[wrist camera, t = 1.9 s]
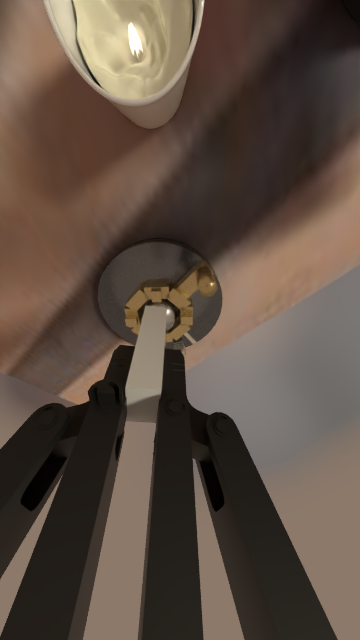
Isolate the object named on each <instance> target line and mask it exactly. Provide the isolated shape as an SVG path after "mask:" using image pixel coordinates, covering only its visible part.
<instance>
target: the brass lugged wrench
mask: <svg viewBox="0 0 360 640" xmlns="http://www.w3.org/2000/svg"><path fill="white" fill-rule="evenodd" d="M213 274H214V273H213V271H212V269H211V268H210V267H209V266H208V265H207V264H206V263H205V262H204V261H203V260H202V259H201V260H200V261H199V262H198V263H197V264H196V265H195V266H194V267H193V268H192V269H191V270H190V271H189V272H188V273H187V274H186V275H185V276H184V277H183V278H182V279H181V280H180V281H179V282H178V283H176V282H175V281H173V282H172V283H171V284H170V281H169V279H146V282H145V283H144V282H143V281H142V282H141V283H140V284H139V286H138V287H137V288H136V289H135V290H134V291H133V292H132V293H131V295H130V296H129V298H128V300H127V302H126V306H125V309H124V310H125V314H126V317H125V323H126V326H128V327H132V329H131V331H132V332H134V333H136V334H137V335H138V334H139V330H140V326H141V322H142V318H143V315H142V310H141V306H142V305H143V304H144V303H145V302H146V301H147V300H148V299H152V302H162V299H168V300H169V301H170V302H172V303H173V304H174V305H175V306H177V307H178V308H179V309H180V312H181V314H180V315H179V316H178V317H177V318H176V319H175V321H174V325H173V326H172V327H171V328H170V329H169V330H167V331H166V332H165V346H166V342H173V339H175V340H178V339H179V338H180V337H181V336H183V335H184V334H185V333H186V332H187V331H189V330H190V329H191V325H193V304H192V298H190V296H191V295H192V294H193V293H194V292H195V291H196V290H197V289H198V290H199V293H200V294H201V295H202V296H204V297H210V296H213V295H214V294H215V293H216V292H217V288H218V287H217V283H216V281H215V279H214V276H213Z"/></svg>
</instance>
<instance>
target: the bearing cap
mask: <svg viewBox="0 0 360 640" xmlns="http://www.w3.org/2000/svg"><path fill="white" fill-rule="evenodd" d="M201 259H202V260H203V261H204V262H205V263H206V264H207V265H208V266H209V267H210V268H211V269H212V271H213V273H214V274H213V276H214V279H215V281H216V283H217V287H218V288H217V292H216V293H215V294H214V295H213V296H210V297H204V296H202V295H201V294H200V293H199V290H198V289H197V290H196V291H195V292H194V293H193V294H192V295H191V296H190V298H192V304H193V325H191V329H190V330H189V331H187V332H186V333H185V334H184V335H183V336H181V337H180V338H179V339H178V340H175V339H173V342H166V346H165V347H164V349H175V350H181V352H182V354H183V355H184V358H186V347H188V346H190V345H192V344H193V345H194V344H196V343H197V342H198V341H199V340H201V339H202V338H203V337H205V336H206V335H207V334H208V333H209V332H210V331H211V330H212V328H213V327H214V325H215V324H216V322H217V320H218V318H219V315H220V312H221V308H222V291H221V287H220V284H219V281H218V279H217V277H216V275H215V272H214V270H213V268H212V267H211V265H210V264H209V262H208V261H207V260H206V259H205V258H204V257H203V256H202V255H201V254H200V253H199V252H198V251H196V250H195V249H193V248H192V247H190V246H188V245H186V244H184V243H181V242H178V241H175V240H170V239H161V238H155V239H146V240H142V241H139V242H136V243H134V244H131V245H129V246H128V247H126V248H124V249H123V250H122V251H121V252H119V253H118V254H117V255H116V256H115V258H114V259H113V260H112V261H111V262H110V263H109V265H108V266H107V267H106V269H105V270H104V272H103V274H102V276H101V279H100V282H99V286H98V303H99V307H100V310H101V313H102V315H103V317H104V319H105V321H106V322H107V324H108V325H109V326H110V328H111V329H112V330H113V331H114V332H115V333H116V334H117V335H119V336H120V337H121V338H123V339H124V340H126V341H127V342H129V343H131V344H133V345H136V342H137V338H138V335H137V334H136V333H134V332H132V331H131V329H132V327H128V326H126V323H125V317H126V314H125V310H124V309H125V306H126V302H127V300H128V298H129V296H130V295H131V293H132V292H133V291H134V290H135V289H136V288H137V287H138V286H139V284H140V283H141V282H142V281H143V282H144V283H145V282H146V279H169V281H170V284H171V283H172V282H173V281H175V282H176V283H178V282H179V281H180V280H181V279H182V278H183V277H184V276H185V275H186V274H187V273H188V272H189V271H190V270H191V269H192V268H193V267H194V266H195V265H196V264H197V263H198V262H199V261H200V260H201ZM145 306H155V307H164V308H167V317H166V331H167V330H169V329H170V328H171V327H172V326H173V325H174V321H175V319H176V318H177V317H178V316H179V315H180V314H181V312H180V309H179V308H178V307H177V306H175V305H174V304H173V303H172V302H170V301H169V300H168V299H162V302H152V299H148V300H147V301H146V302H145V303H144V304H143V305H142V306H141V310H142V315H143V314H144V310H145Z"/></svg>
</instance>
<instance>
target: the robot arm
mask: <svg viewBox="0 0 360 640" xmlns="http://www.w3.org/2000/svg"><path fill="white" fill-rule="evenodd" d="M343 2H344V4H345V6H346V8H347V10H348V11H349V13H350V14H351V15H352V17H353V18H354V19H355V20H356V21H357V22H359V23H360V0H343ZM166 317H167V308H164V307H155V306H145V310H144V314H143V318H142V322H141V326H140V330H139V334H138V338H137V342H136V346H126V345H120V346H119V347H118V348H117V349H116V350H115V351H114V352H113V355H112V358H111V361H110V363H109V366H108V369H107V371H106V374H105V377H104V379H103V380H100V381H98V382H96V383H95V384H93V385H92V386H91V387H90V389H89V390H88V395H89V400H90V401H88V402H86V403H83V404H80V405H76V406H72V407H68V408H66V407H65V406H63V405H62V404H59V403H51V404H47V405H45V406H43V407H41V408H39V409H38V410H36V411H35V412H34V413H33V414H32V415H31V416H30V417H29V418H28V419H27V420H26V421H25V423H24V424H23V425H22V426H21V427H20V428H19V429H18V430H17V432H16V433H15V434H14V435H13V436H12V437H11V438H10V439H9V440H8V441H7V443H6V444H5V445H4V446H3V447H2V448H1V449H0V578H1V577H2V575H3V574H4V572H5V570H6V568H7V567H8V565H9V563H10V562H11V560H12V558H13V557H14V555H15V553H16V552H17V550H18V548H19V547H20V545H21V543H22V542H23V540H24V538H25V537H26V535H27V533H28V532H29V530H30V528H31V527H32V525H33V523H34V522H35V520H36V518H37V516H38V515H39V513H40V512H41V510H42V508H43V507H44V505H45V503H46V501H47V500H48V498H49V496H50V495H51V493H52V491H53V490H54V488H55V486H56V484H57V483H58V481H59V480H60V478H61V476H62V475H63V476H62V478H61V481H60V483H59V486H58V489H57V491H56V494H55V496H54V499H53V502H52V504H51V507H50V510H49V512H48V514H47V517H46V520H45V523H44V525H43V527H42V530H41V533H40V535H39V538H38V540H37V543H36V546H35V548H34V551H33V553H32V556H31V559H30V561H29V564H28V567H27V569H26V571H25V574H24V577H23V579H22V582H21V585H20V587H19V590H18V592H17V595H16V598H15V600H14V603H13V605H12V608H11V610H10V613H9V616H8V618H7V621H6V623H5V626H4V629H3V631H2V634H1V636H0V640H83V636H84V631H85V626H86V621H87V616H88V611H89V606H90V601H91V595H92V591H93V586H94V581H95V576H96V571H97V566H98V561H99V556H100V552H101V546H102V541H103V536H104V532H105V527H106V521H107V517H108V512H109V507H110V502H111V497H112V492H113V487H114V482H115V477H116V472H117V467H118V462H119V457H120V452H121V448H122V443H123V438H124V427H125V422H126V421H133V422H153V423H156V432H155V438H154V452H153V464H152V476H151V488H150V501H149V513H148V525H147V537H146V548H145V560H144V573H143V584H142V596H141V608H140V621H139V632H138V640H203V626H202V609H201V592H200V577H199V576H200V575H199V559H198V543H197V526H196V510H195V493H194V476H193V460H192V458H194V459H195V460H196V464H197V467H198V471H199V474H200V478H201V482H202V485H203V489H204V493H205V496H206V500H207V504H208V507H209V511H210V515H211V518H212V522H213V526H214V529H215V533H216V537H217V540H218V544H219V548H220V551H221V555H222V559H223V562H224V566H225V569H226V573H227V577H228V581H229V584H230V588H231V591H232V595H233V599H234V602H235V606H236V609H237V613H238V617H239V621H240V624H241V628H242V632H243V635H244V639H245V640H337V637H336V635H335V633H334V631H333V629H332V627H331V625H330V623H329V621H328V618H327V617H326V614H325V612H324V610H323V608H322V606H321V604H320V601H319V600H318V597H317V595H316V593H315V591H314V589H313V587H312V585H311V582H310V581H309V578H308V576H307V574H306V572H305V570H304V568H303V566H302V564H301V561H300V559H299V557H298V555H297V553H296V551H295V549H294V547H293V545H292V542H291V540H290V538H289V536H288V534H287V532H286V530H285V528H284V525H283V524H282V521H281V519H280V517H279V515H278V513H277V511H276V509H275V506H274V504H273V502H272V500H271V498H270V496H269V494H268V492H267V490H266V488H265V485H264V484H263V481H262V479H261V477H260V475H259V473H258V471H257V468H256V466H255V464H254V462H253V460H252V458H251V456H250V454H249V452H248V449H247V447H246V445H245V443H244V441H243V439H242V437H241V435H240V433H239V430H238V428H237V426H236V424H235V423H234V421H233V420H232V419H231V418H230V417H229V416H228V415H226V414H224V413H221V412H215V413H213V414H211V415H208V414H205V413H203V412H200V411H198V410H196V409H195V408H193V407H192V406H191V404H190V403H189V402H188V399H187V396H186V383H185V382H186V380H185V361H184V355H183V354H182V352H181V350H175V349H164V347H165V332H166Z"/></svg>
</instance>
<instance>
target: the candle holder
mask: <svg viewBox="0 0 360 640" xmlns="http://www.w3.org/2000/svg"><path fill="white" fill-rule="evenodd" d="M42 1H43V4H44V7H45V10H46V13H47V16H48V18H49V21H50V23H51V26H52V28H53V31H54V33H55V35H56V37H57V39H58V41H59V43H60V45H61V47H62V49H63V50H64V52H65V54H66V56H67V57H68V59H69V60H70V62H71V63H72V65H73V66H74V68H75V69H76V70H77V72H78V73H79V74H80V75H81V77H82V78H83V79H84V80H85V81H86V82H87V83H88V84H89V85H90V86H91V87H92V88H93V89H94V90H95V91H97V92H98V93H99V94H101V95H102V96H103V97H105V98H106V99H107V100H108V101H109V102H110V103H111V104H112V105H113V106H114V107H115V108H117V109H118V110H119V111H120V112H121V113H122V114H123V115H124V116H125V117H126V118H128V119H129V120H130V121H131V122H133V123H134V124H136V125H138V126H140V127H142V128H147V129H154V128H158V127H161V126H163V125H164V124H166V123H167V122H168V121H169V120H170V119H171V118H172V117H173V116H174V114H175V113H176V111H177V109H178V107H179V105H180V103H181V100H182V97H183V94H184V90H185V86H186V82H187V77H188V73H189V69H190V64H191V60H192V56H193V52H194V49H195V46H196V42H197V39H198V35H199V31H200V27H201V22H202V16H203V10H204V1H205V0H42Z"/></svg>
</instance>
